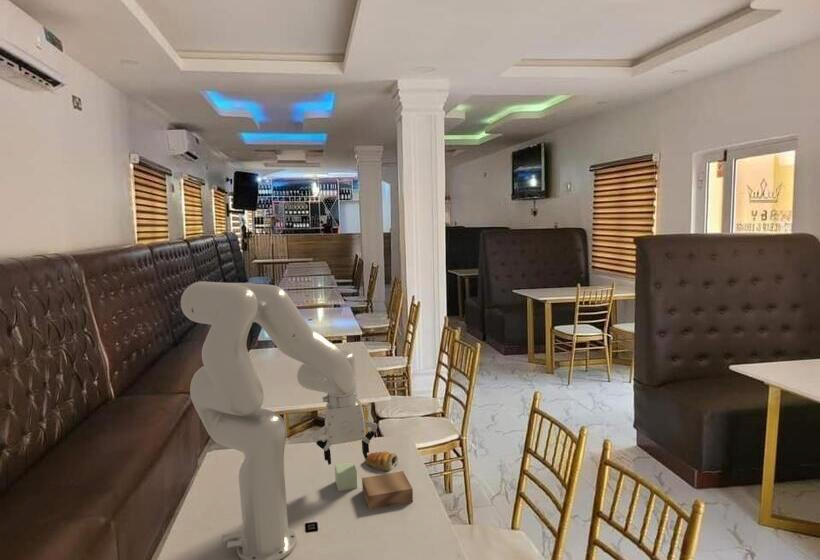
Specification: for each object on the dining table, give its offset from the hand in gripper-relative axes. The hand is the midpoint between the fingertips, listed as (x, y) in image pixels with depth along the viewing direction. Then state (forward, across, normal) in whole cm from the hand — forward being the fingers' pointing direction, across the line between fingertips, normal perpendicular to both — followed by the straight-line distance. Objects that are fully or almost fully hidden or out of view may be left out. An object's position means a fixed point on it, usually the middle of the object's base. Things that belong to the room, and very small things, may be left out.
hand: (347, 458), depth 143 cm
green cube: (+7, -1, -1) cm, 7 cm away
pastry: (+8, +11, +6) cm, 15 cm away
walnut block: (+7, +8, -10) cm, 15 cm away
